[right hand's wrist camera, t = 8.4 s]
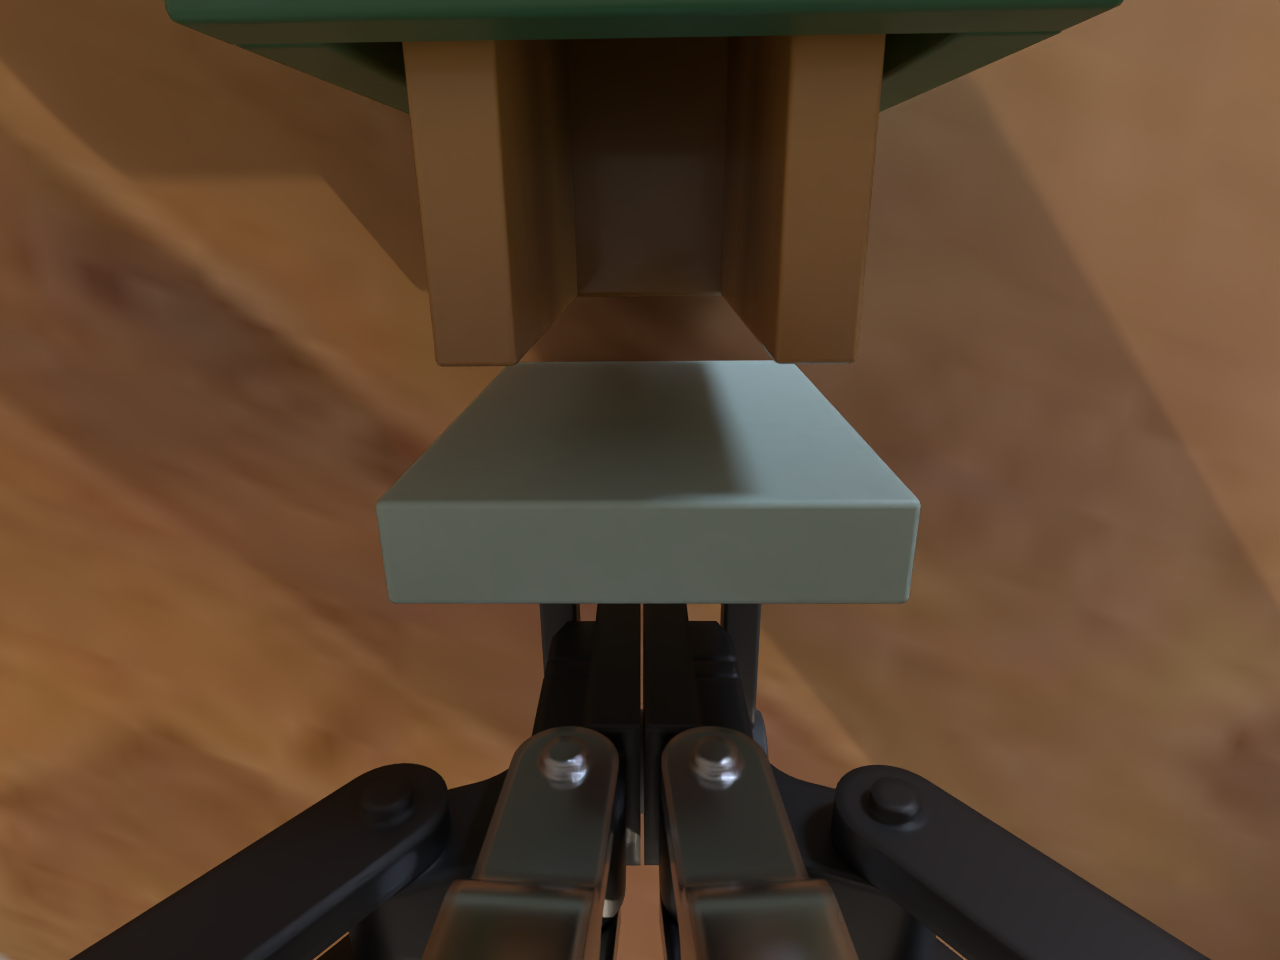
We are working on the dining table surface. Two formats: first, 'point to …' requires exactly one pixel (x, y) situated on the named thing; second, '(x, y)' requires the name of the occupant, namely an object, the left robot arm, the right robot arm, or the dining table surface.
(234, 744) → the dining table surface
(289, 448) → the dining table surface
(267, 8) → the cabinet
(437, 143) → the drawer
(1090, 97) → the dining table surface
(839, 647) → the dining table surface
